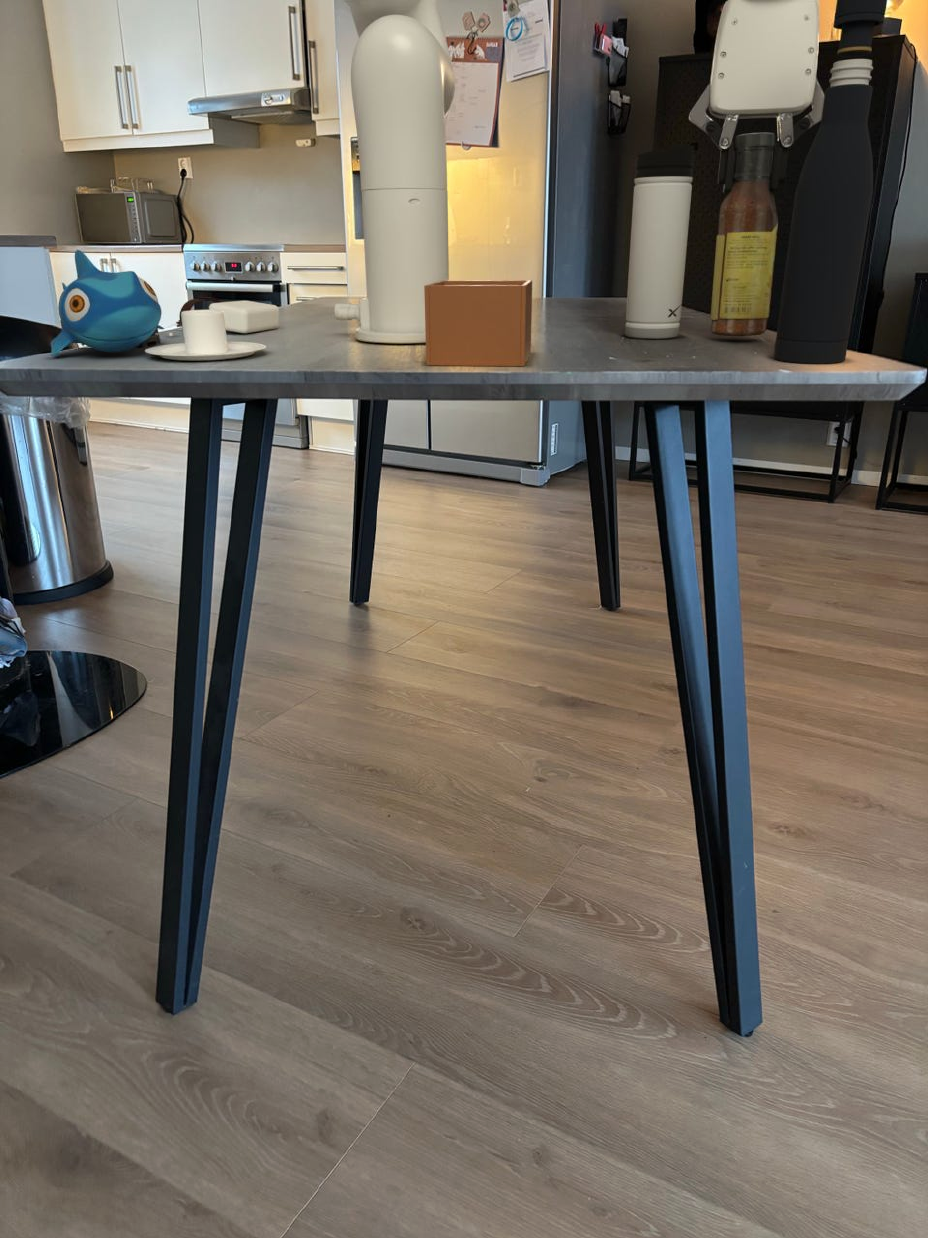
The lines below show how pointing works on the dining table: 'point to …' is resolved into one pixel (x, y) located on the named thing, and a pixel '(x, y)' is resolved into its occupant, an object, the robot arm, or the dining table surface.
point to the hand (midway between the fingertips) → (749, 189)
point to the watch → (191, 303)
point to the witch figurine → (177, 326)
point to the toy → (106, 309)
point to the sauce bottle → (746, 242)
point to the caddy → (478, 322)
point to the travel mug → (659, 242)
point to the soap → (248, 316)
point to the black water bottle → (832, 204)
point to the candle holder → (204, 339)
